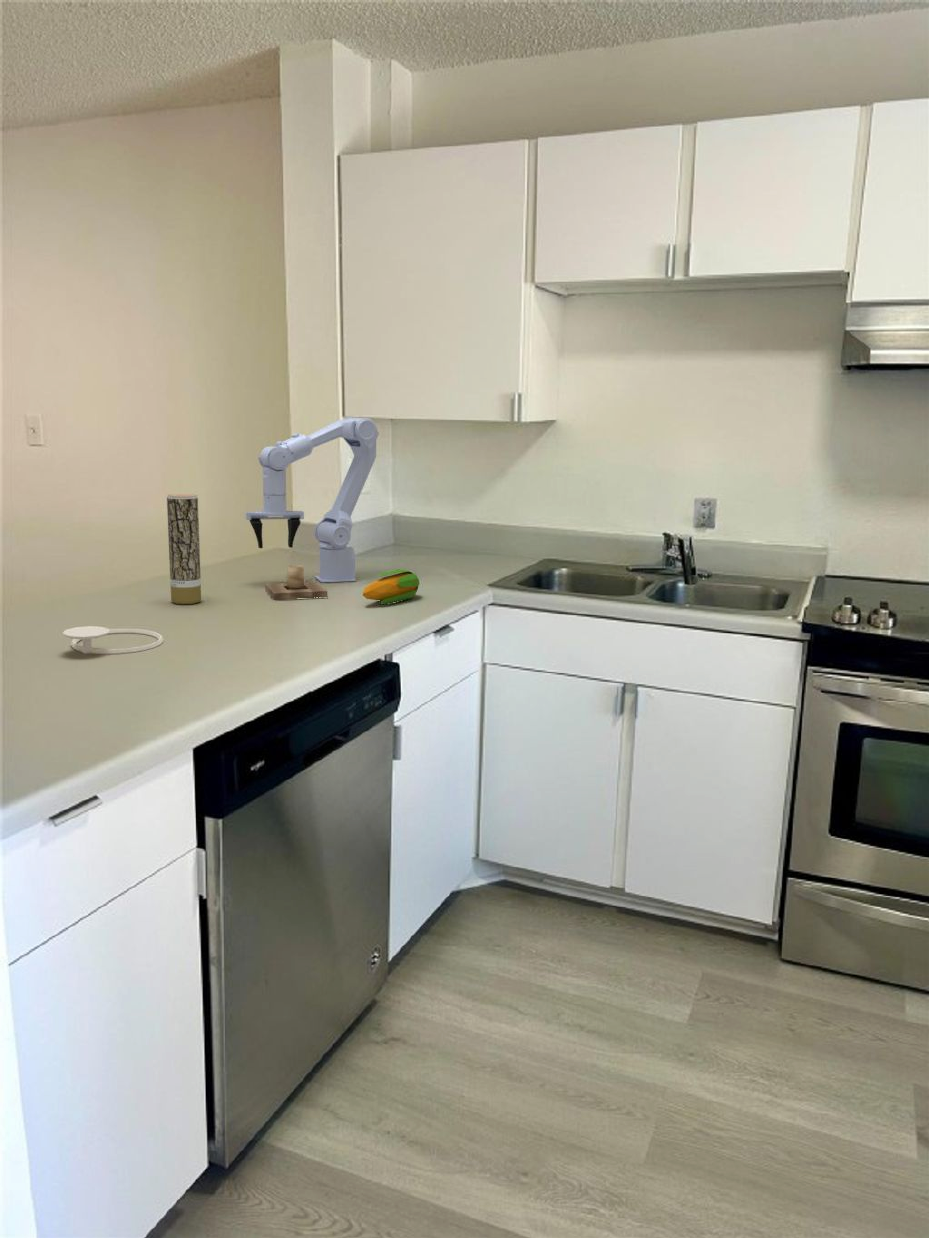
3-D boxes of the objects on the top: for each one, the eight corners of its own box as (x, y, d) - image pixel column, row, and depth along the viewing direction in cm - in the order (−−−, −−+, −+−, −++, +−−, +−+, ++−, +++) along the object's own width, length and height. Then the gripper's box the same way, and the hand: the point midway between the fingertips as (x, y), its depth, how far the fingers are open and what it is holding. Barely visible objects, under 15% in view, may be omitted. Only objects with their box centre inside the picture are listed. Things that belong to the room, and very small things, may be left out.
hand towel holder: (181, 619, 182) (106, 642, 163) (182, 640, 183) (107, 665, 164) (113, 609, 188) (33, 630, 169) (114, 630, 189) (35, 653, 170)
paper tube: (192, 606, 211) (188, 497, 205) (165, 604, 212) (161, 495, 207) (206, 600, 218) (203, 494, 212) (180, 598, 219) (176, 493, 213)
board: (316, 588, 235) (316, 581, 235) (327, 598, 224) (327, 591, 224) (265, 591, 230) (265, 583, 230) (274, 600, 220) (274, 593, 219)
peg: (297, 592, 230) (297, 564, 229) (307, 594, 228) (307, 567, 226) (284, 594, 227) (283, 566, 226) (294, 596, 225) (294, 568, 223)
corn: (427, 567, 228) (376, 578, 211) (428, 597, 229) (378, 610, 213) (403, 565, 232) (352, 576, 216) (404, 595, 233) (353, 608, 217)
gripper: (299, 492, 239) (300, 544, 242) (243, 493, 234) (244, 545, 237) (305, 495, 233) (305, 548, 236) (247, 495, 227) (248, 549, 231)
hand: (275, 547), depth 236 cm, fingers open, 7 cm apart
